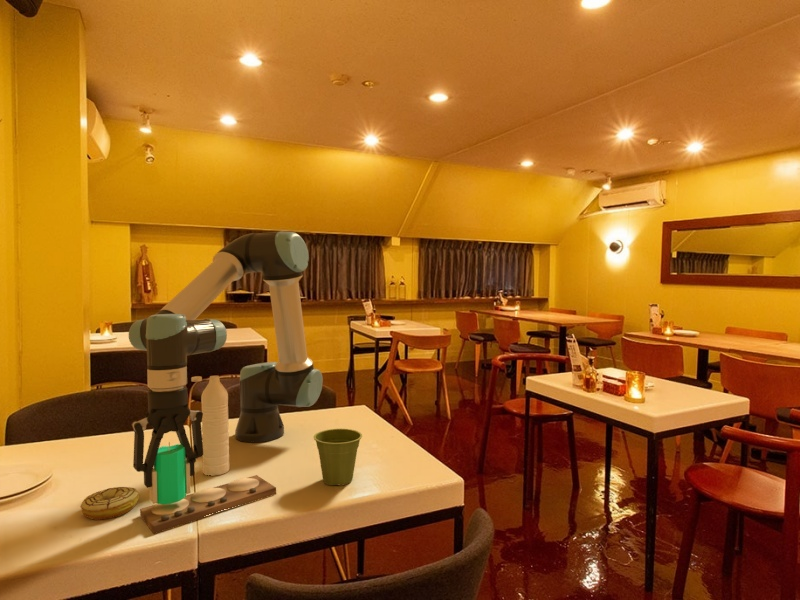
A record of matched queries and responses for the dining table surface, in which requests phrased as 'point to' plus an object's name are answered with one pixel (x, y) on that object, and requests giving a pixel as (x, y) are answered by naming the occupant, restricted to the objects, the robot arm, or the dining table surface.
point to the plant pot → (337, 454)
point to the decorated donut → (109, 502)
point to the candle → (170, 474)
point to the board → (205, 503)
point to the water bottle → (214, 427)
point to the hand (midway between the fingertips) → (170, 496)
